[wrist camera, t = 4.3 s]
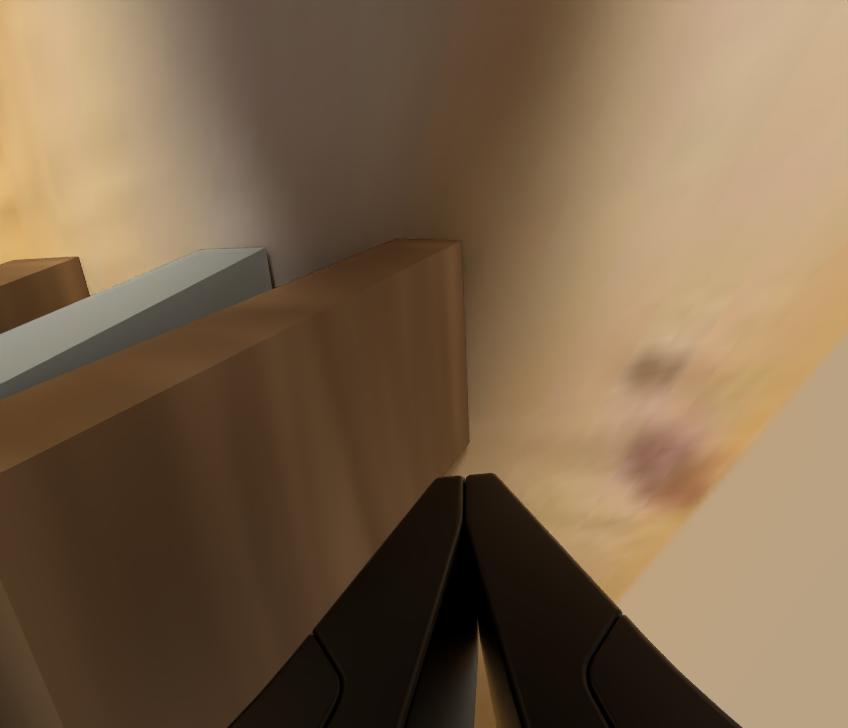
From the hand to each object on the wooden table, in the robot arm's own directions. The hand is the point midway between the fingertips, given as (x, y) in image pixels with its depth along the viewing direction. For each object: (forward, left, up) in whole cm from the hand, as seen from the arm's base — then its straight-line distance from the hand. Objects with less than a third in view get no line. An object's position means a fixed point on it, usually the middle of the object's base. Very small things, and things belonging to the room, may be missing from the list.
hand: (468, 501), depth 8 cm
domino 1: (0, 0, -6) cm, 6 cm away
